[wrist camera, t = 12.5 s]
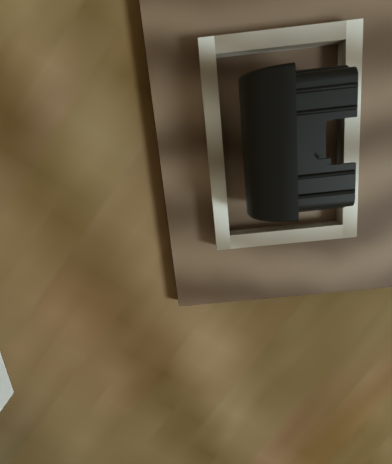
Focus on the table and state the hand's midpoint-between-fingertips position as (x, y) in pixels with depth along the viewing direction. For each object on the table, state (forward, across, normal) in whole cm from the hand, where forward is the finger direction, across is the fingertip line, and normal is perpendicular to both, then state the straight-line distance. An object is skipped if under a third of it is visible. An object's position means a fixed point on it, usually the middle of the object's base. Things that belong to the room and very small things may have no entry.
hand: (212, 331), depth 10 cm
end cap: (+20, -7, -4) cm, 22 cm away
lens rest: (+21, -7, -4) cm, 23 cm away
